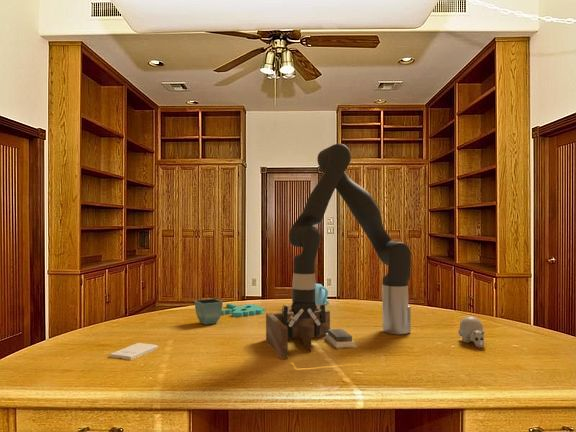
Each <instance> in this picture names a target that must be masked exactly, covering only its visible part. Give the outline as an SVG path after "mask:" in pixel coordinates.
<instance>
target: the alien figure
mask: <svg viewBox="0 0 576 432" xmlns="http://www.w3.org/2000/svg"><path fill="white" fill-rule="evenodd" d="M225 306H226V309H222V312H221V316H225V315H231V317H234V318H235V317H237V318H238V317H239V318H242V317H249V316H257V315H262V314H264V313H265V311H266V310H265V309H266V308H265V307H264V306H263V307H262V306H260V305H258V304H257V305H256V304H251V303H245V304H243V305H242V306H239V305H236V304H234V303H226V305H225Z"/></svg>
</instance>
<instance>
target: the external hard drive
mask: <svg viewBox="0 0 576 432" xmlns="http://www.w3.org/2000/svg"><path fill="white" fill-rule="evenodd" d="M157 348H159V346H158V345H157V344H152V343H151V344H150V343H144V342H143V343H141V342H137V343H134V344H131V345H129V346H127V347H124V348H122V349H120V350H117V351H114V352H112V353H110V354H108V357H109V358H115V359H122V360H128V359H129V361H132V360H134V358H135V359H136V357H137V358H139V357H141V356H143V354H144V355H146V354H149V353H151V352H152V351H153V352H154V351H155V350H158V349H157Z"/></svg>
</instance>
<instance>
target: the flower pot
mask: <svg viewBox="0 0 576 432" xmlns="http://www.w3.org/2000/svg"><path fill="white" fill-rule="evenodd" d="M223 302H224V301H222V300H220V299H216V298H208V299H207V298H206V299H197V300H196V299H195V300H194V306H195V314H196V318H197V319H198V321H199V323H200V324H202V325H205V326H207V325H215V324H217V323H218V322H219V321H220V318H221V316H222V315H221V312H222V310H223Z"/></svg>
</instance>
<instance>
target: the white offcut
mask: <svg viewBox="0 0 576 432" xmlns="http://www.w3.org/2000/svg"><path fill="white" fill-rule="evenodd" d="M325 337H326V338H327V339H328V340H329V341H330V342H331V343H332V344H333V345H334V346H336V347H354V346H355V345H356V342H355V340H353V339H352V341H345V342H337V341H336V340H334V339H333V338H332V337H331V336H330V335H329V334H328V333H326V336H325ZM334 346H333V347H334Z"/></svg>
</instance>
